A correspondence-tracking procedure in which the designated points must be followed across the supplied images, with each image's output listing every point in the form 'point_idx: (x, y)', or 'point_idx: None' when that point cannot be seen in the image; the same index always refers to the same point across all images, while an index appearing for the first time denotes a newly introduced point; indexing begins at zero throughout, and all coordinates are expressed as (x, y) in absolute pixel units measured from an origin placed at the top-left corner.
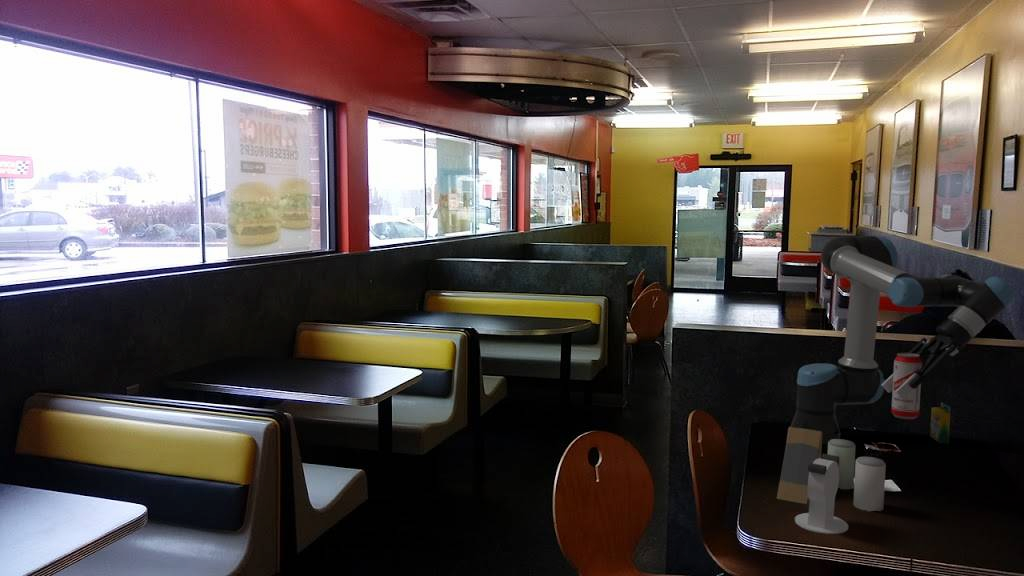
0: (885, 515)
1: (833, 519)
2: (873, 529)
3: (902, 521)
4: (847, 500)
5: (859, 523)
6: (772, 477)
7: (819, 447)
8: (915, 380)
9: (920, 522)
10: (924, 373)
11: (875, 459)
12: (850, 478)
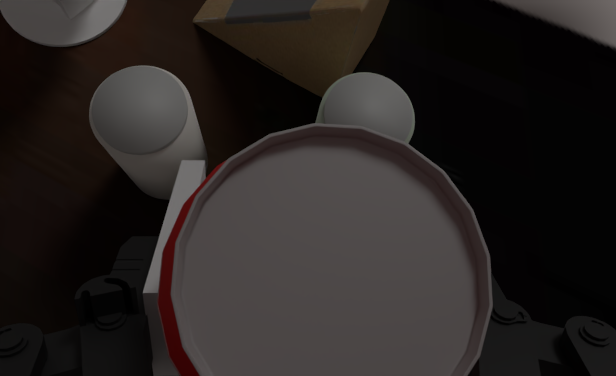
0: (99, 175)
1: (76, 24)
2: (11, 95)
3: (52, 199)
4: (217, 127)
5: (54, 80)
6: (399, 10)
7: (313, 15)
8: (118, 273)
9: (39, 246)
10: (21, 328)
11: (150, 132)
12: None
